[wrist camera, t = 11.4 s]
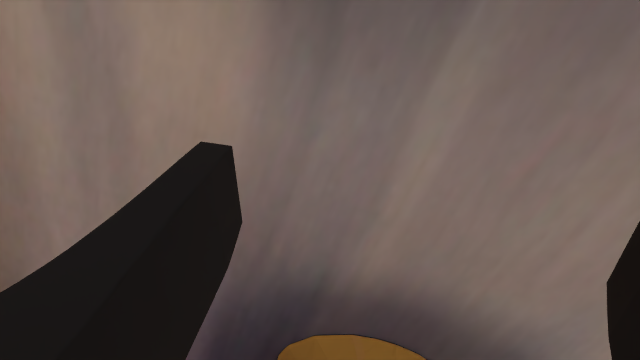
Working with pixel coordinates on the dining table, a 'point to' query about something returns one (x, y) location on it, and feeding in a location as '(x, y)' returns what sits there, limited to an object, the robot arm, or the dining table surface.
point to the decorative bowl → (345, 349)
